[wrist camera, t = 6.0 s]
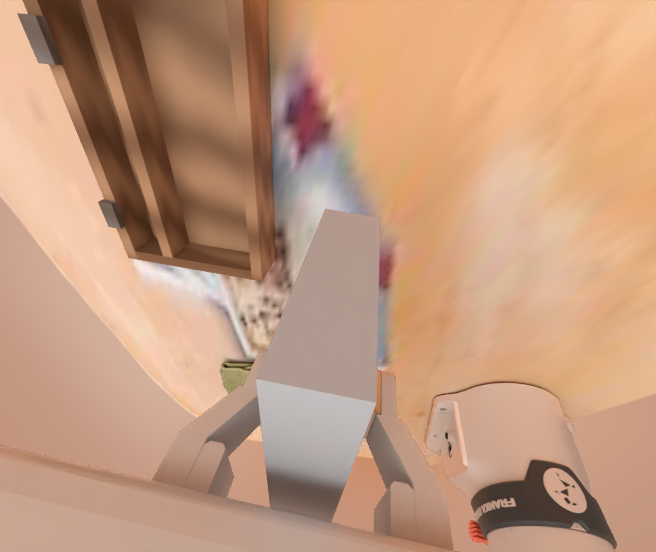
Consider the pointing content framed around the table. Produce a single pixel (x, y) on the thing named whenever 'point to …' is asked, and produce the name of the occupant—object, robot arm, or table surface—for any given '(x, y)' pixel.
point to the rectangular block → (322, 368)
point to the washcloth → (234, 375)
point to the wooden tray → (171, 122)
